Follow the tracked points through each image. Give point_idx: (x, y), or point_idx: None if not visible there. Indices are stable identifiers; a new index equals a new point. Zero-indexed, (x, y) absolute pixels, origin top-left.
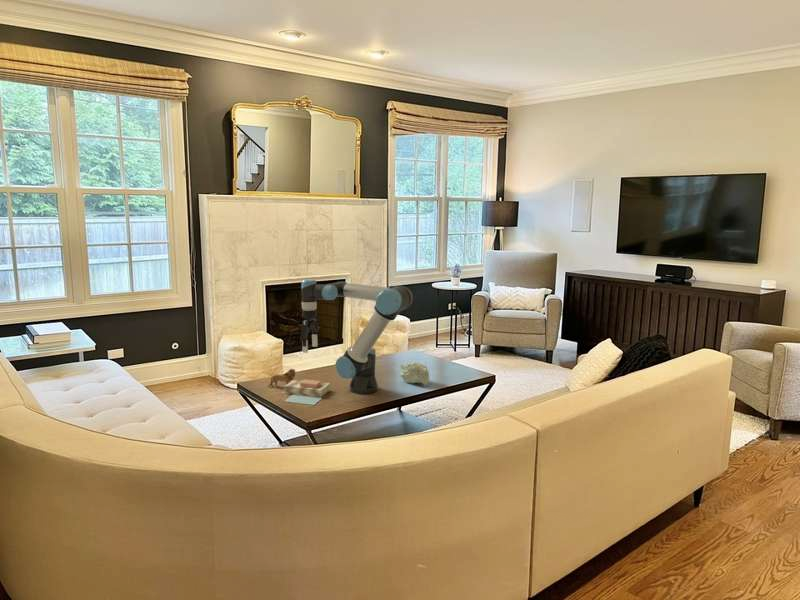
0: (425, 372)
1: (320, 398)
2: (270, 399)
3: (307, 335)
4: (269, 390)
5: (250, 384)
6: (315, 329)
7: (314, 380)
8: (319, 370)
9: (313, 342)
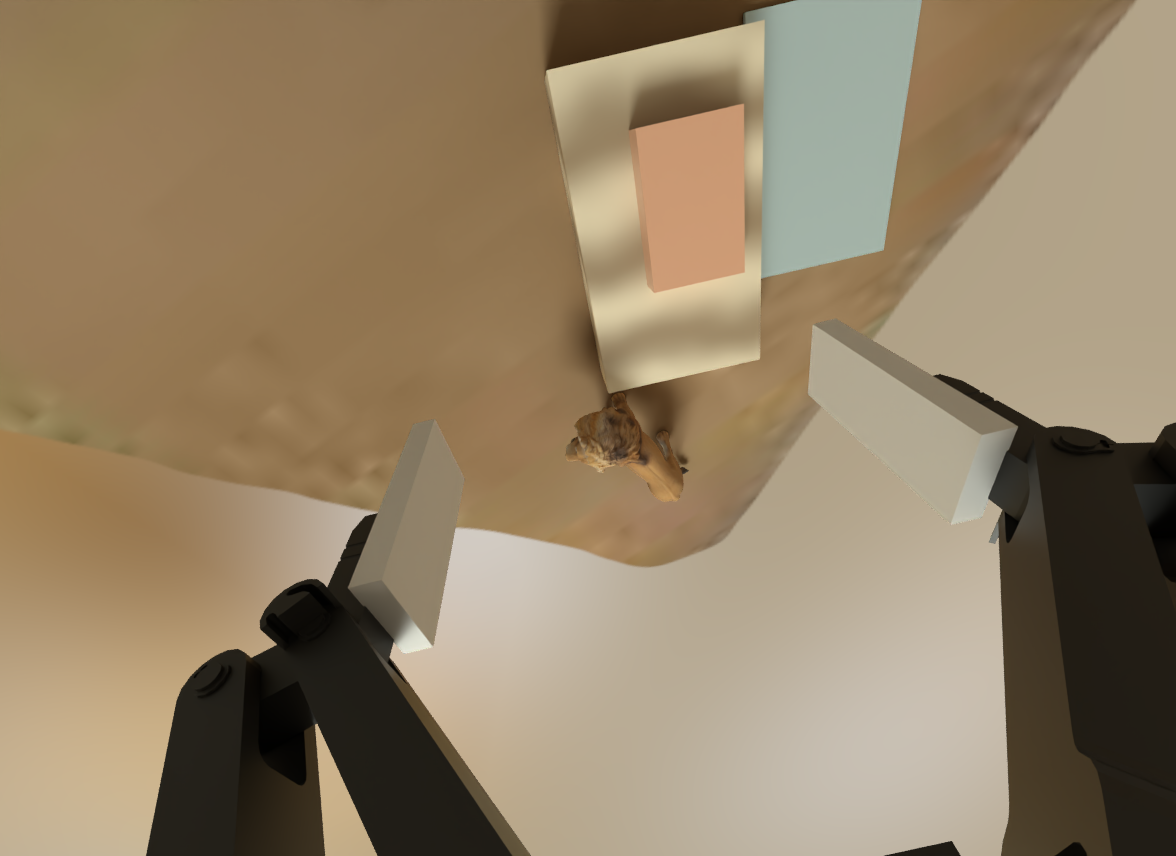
0: None
1: (768, 20)
2: None
3: (1080, 523)
4: (723, 436)
5: (678, 548)
6: (407, 735)
7: (645, 199)
8: (227, 448)
9: (447, 505)
